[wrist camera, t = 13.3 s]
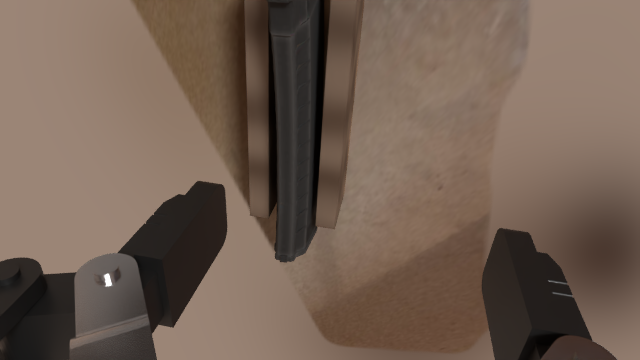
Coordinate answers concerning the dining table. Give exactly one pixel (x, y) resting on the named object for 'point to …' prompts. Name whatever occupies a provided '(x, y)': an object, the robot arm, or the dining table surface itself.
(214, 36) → the dining table surface
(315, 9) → the magazine
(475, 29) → the dining table surface
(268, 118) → the slot block
